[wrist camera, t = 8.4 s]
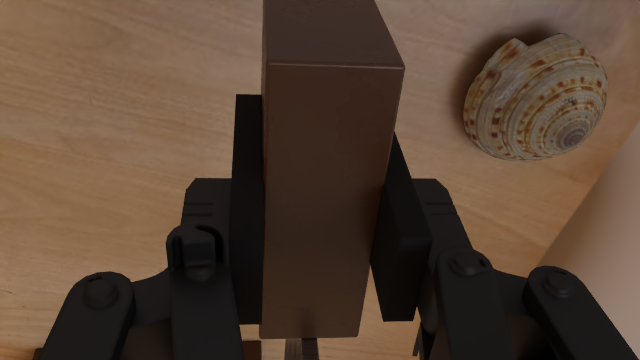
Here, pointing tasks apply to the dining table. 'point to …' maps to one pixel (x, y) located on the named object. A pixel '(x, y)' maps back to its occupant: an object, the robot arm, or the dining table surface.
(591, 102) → the seashell
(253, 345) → the beige square block
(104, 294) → the robot arm
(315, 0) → the knife
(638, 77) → the dining table surface
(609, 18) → the dining table surface
